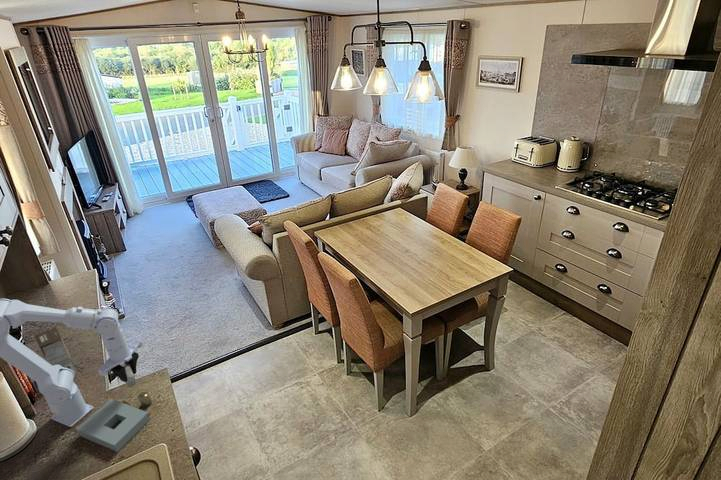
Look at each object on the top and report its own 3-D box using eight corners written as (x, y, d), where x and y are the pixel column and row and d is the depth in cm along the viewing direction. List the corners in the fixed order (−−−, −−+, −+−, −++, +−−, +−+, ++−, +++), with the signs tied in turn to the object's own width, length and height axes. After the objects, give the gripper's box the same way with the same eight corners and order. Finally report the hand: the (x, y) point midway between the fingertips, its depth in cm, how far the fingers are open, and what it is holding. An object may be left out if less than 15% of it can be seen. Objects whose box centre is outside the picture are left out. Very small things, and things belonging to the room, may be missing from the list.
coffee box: (51, 369, 149) (34, 334, 141) (71, 360, 153) (55, 326, 145) (57, 382, 143) (39, 347, 135) (78, 372, 147) (61, 337, 139)
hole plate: (79, 435, 123) (75, 428, 121) (114, 405, 133) (111, 398, 131) (117, 452, 117) (114, 445, 116) (150, 419, 127) (148, 412, 126)
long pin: (124, 385, 134) (117, 367, 130) (132, 379, 136) (125, 361, 133) (131, 388, 133) (124, 369, 129) (138, 381, 135) (131, 363, 132)
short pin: (139, 406, 132) (136, 397, 130) (147, 399, 134) (143, 390, 132) (146, 409, 131) (142, 400, 129) (153, 402, 133) (150, 393, 131)
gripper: (104, 363, 120) (118, 396, 126) (144, 332, 132) (155, 364, 138) (87, 357, 122) (102, 390, 128) (128, 328, 134) (140, 359, 140)
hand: (128, 376), depth 133 cm, fingers closed on long pin, 3 cm apart
